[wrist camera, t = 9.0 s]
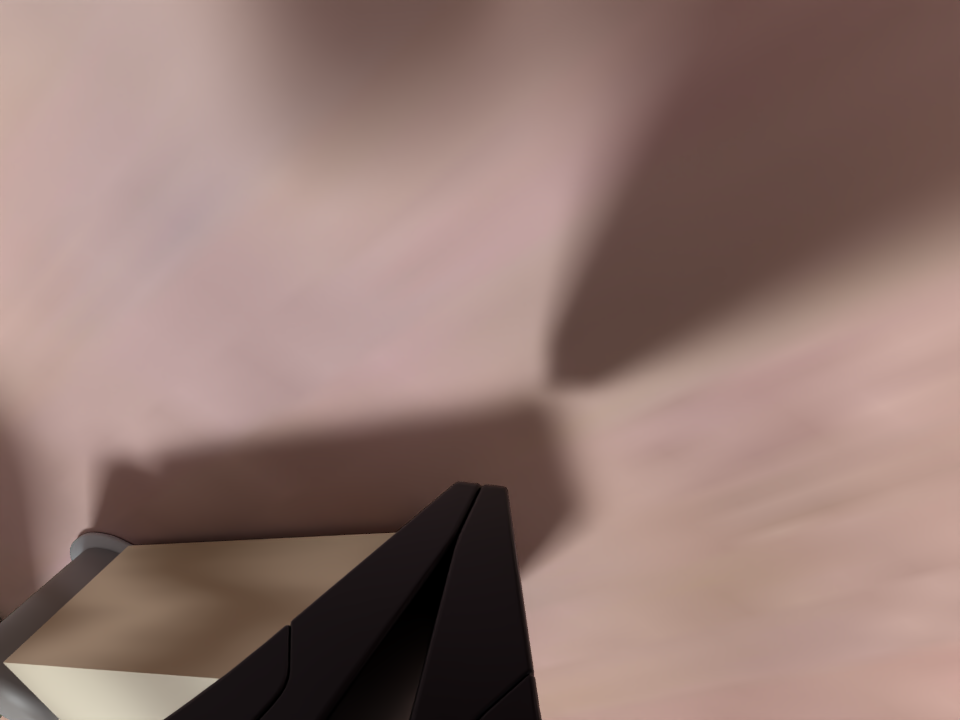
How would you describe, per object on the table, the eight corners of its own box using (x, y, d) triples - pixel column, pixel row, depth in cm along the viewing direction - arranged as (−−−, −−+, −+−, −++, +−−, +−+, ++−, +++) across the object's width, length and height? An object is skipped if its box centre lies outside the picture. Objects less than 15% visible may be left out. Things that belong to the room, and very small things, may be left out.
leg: (117, 611, 17) (4, 728, 14) (64, 546, 16) (-71, 657, 13) (481, 618, 13) (433, 792, 10) (442, 527, 11) (372, 691, 8)
